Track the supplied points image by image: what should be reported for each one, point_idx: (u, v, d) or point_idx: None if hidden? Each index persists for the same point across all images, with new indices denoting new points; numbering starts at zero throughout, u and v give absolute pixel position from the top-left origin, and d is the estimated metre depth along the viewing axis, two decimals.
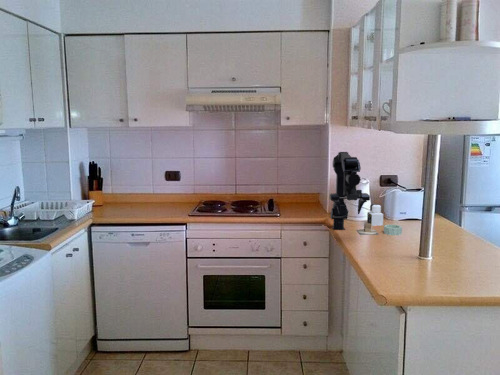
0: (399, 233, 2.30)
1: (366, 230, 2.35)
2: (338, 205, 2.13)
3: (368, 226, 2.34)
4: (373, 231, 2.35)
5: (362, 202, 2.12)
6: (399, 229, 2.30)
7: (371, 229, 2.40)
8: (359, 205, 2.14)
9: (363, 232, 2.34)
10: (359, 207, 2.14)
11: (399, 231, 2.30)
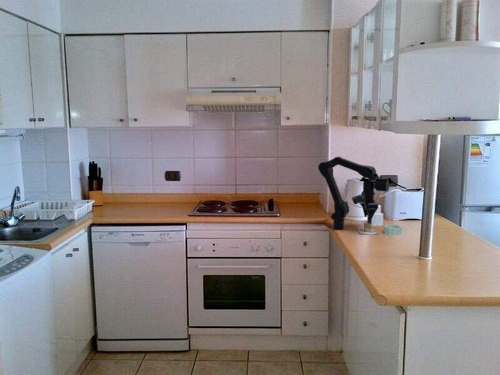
0: (399, 233, 2.30)
1: (366, 230, 2.35)
2: None
3: (368, 226, 2.34)
4: (373, 231, 2.35)
5: (365, 209, 2.29)
6: (399, 229, 2.30)
7: (371, 229, 2.40)
8: None
9: (363, 232, 2.34)
10: (367, 214, 2.30)
11: (399, 231, 2.30)
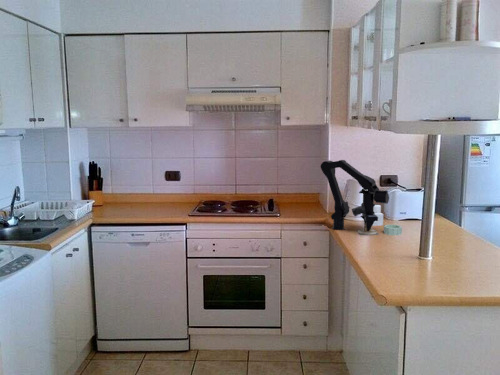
0: (399, 233, 2.30)
1: (366, 230, 2.35)
2: None
3: None
4: (373, 231, 2.35)
5: (364, 220, 2.32)
6: (399, 229, 2.30)
7: (371, 229, 2.40)
8: None
9: (363, 232, 2.34)
10: (366, 224, 2.34)
11: (399, 231, 2.30)
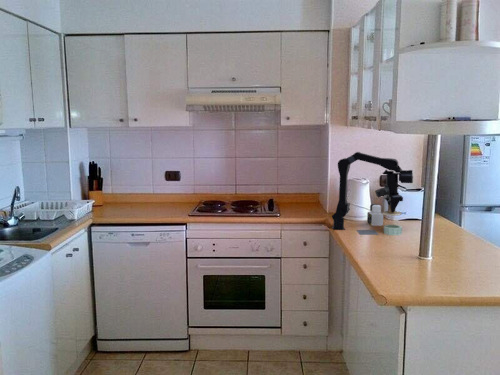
0: (399, 233, 2.30)
1: (390, 211, 2.31)
2: (387, 202, 2.34)
3: None
4: (397, 212, 2.32)
5: (388, 201, 2.29)
6: (399, 229, 2.30)
7: (395, 211, 2.36)
8: None
9: (387, 213, 2.30)
10: (390, 205, 2.30)
11: (399, 231, 2.30)
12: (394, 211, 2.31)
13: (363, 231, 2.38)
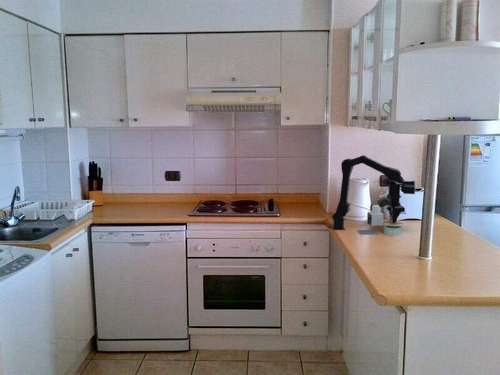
0: (399, 233, 2.30)
1: (392, 222, 2.32)
2: (389, 212, 2.35)
3: None
4: (399, 223, 2.32)
5: (390, 211, 2.29)
6: (399, 229, 2.30)
7: (396, 221, 2.37)
8: None
9: (389, 224, 2.31)
10: None
11: (399, 231, 2.30)
12: (396, 221, 2.32)
13: (363, 231, 2.38)
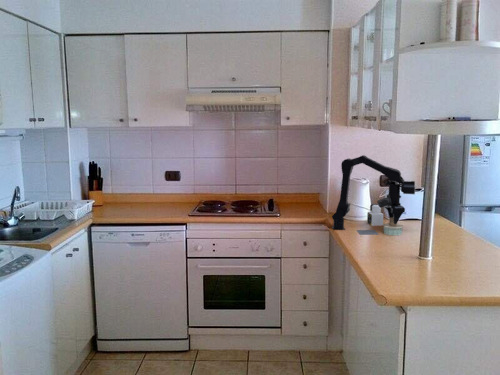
0: (399, 233, 2.30)
1: (392, 224, 2.32)
2: (388, 211, 2.37)
3: None
4: (399, 225, 2.33)
5: (391, 212, 2.27)
6: (399, 229, 2.30)
7: None
8: None
9: (389, 226, 2.31)
10: (393, 217, 2.29)
11: (399, 231, 2.30)
12: (395, 224, 2.32)
13: (363, 231, 2.38)
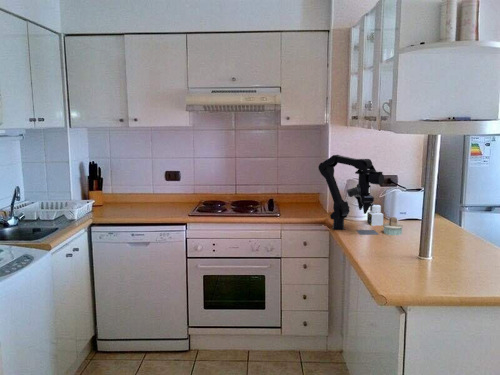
0: (399, 233, 2.30)
1: (392, 224, 2.32)
2: None
3: (394, 220, 2.31)
4: (399, 225, 2.33)
5: (361, 202, 2.26)
6: (399, 229, 2.30)
7: (396, 223, 2.37)
8: None
9: (389, 226, 2.31)
10: None
11: (399, 231, 2.30)
12: (395, 224, 2.32)
13: (363, 231, 2.38)
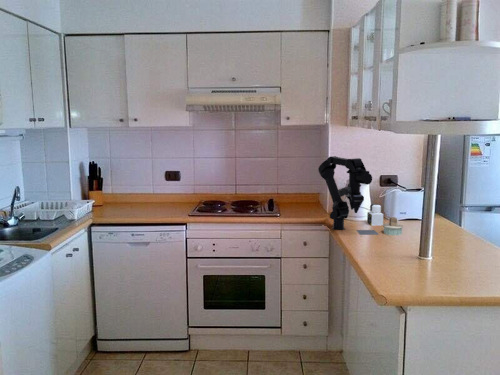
0: (399, 233, 2.30)
1: (392, 224, 2.32)
2: (349, 200, 2.38)
3: (394, 220, 2.31)
4: (399, 225, 2.33)
5: (351, 201, 2.26)
6: (399, 229, 2.30)
7: (396, 223, 2.37)
8: None
9: (389, 226, 2.31)
10: (353, 206, 2.28)
11: (399, 231, 2.30)
12: (395, 224, 2.32)
13: (363, 231, 2.38)
